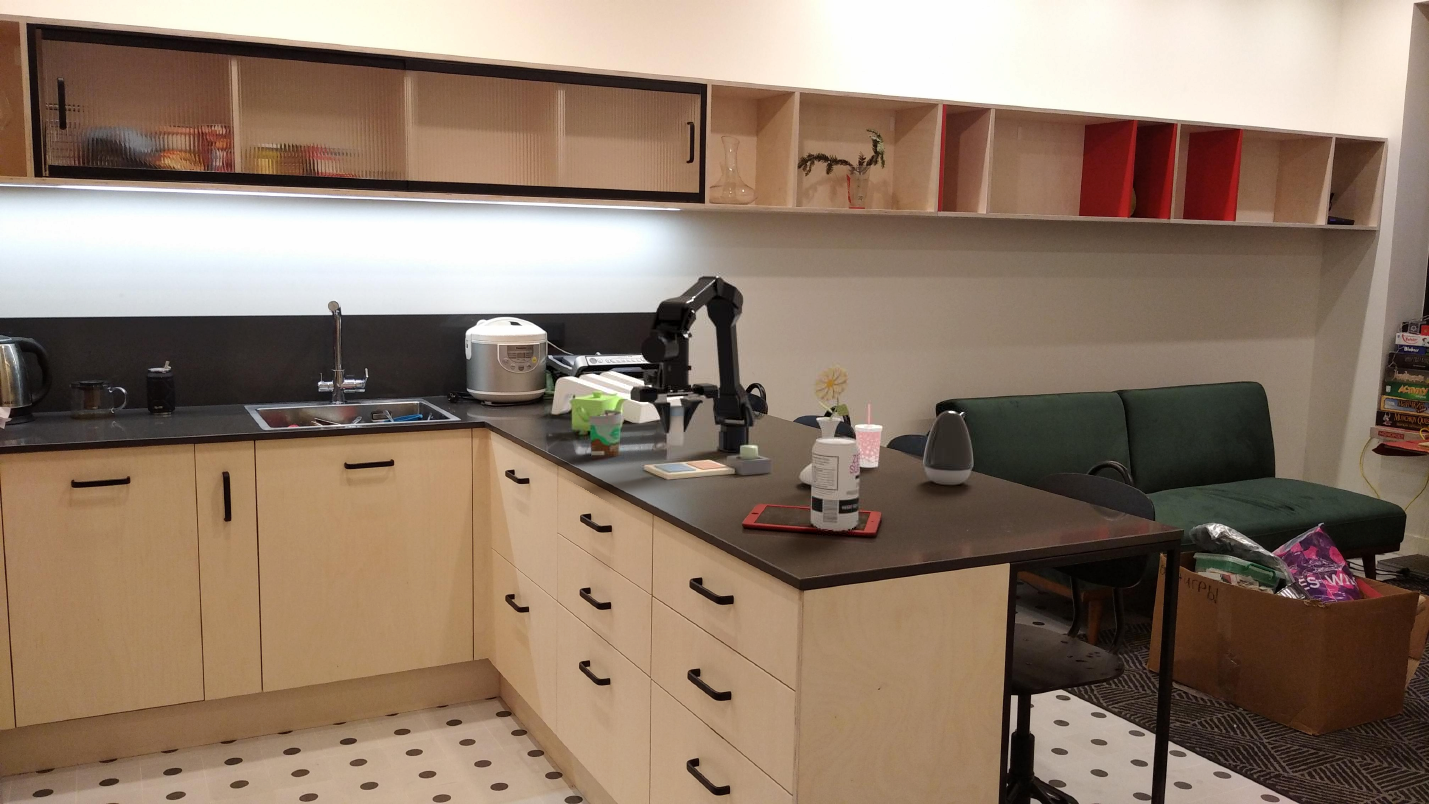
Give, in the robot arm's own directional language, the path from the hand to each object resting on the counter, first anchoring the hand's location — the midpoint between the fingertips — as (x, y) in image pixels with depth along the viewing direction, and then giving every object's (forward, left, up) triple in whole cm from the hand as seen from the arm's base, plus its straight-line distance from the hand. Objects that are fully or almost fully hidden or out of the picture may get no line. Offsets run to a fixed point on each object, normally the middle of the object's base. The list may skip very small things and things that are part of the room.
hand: (675, 432), depth 233 cm
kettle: (-5, -58, -9) cm, 59 cm away
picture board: (-3, 0, -9) cm, 9 cm away
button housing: (-15, +5, -9) cm, 18 cm away
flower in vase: (-22, +26, -9) cm, 36 cm away
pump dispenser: (-47, +33, -9) cm, 59 cm away
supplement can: (-4, +55, -9) cm, 56 cm away
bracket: (-25, -91, -10) cm, 94 cm away
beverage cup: (-43, +10, -9) cm, 45 cm away
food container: (+5, -26, -9) cm, 28 cm away
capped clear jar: (0, 0, -3) cm, 3 cm away
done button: (-15, +5, -7) cm, 18 cm away
